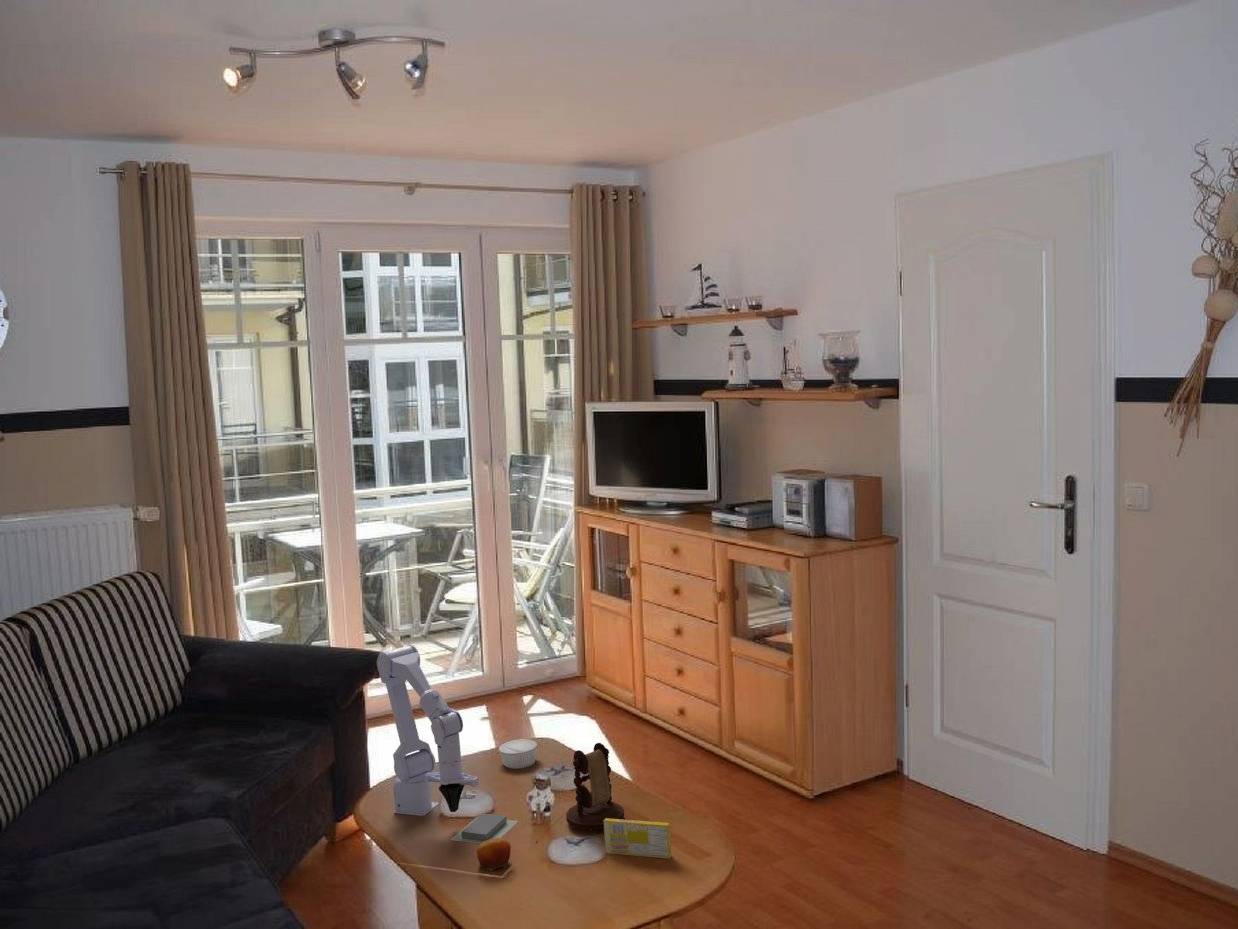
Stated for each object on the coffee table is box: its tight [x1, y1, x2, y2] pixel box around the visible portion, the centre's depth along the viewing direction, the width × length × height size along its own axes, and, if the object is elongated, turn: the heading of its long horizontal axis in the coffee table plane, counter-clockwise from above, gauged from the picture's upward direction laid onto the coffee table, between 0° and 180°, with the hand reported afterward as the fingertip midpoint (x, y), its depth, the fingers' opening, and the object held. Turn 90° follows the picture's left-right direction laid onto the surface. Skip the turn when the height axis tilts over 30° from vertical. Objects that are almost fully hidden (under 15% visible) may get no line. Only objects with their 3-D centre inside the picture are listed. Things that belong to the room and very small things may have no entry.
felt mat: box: [450, 816, 519, 845], centre depth 288 cm, size 12×14×1 cm
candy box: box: [603, 818, 673, 860], centre depth 270 cm, size 16×2×8 cm, turn 71°
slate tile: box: [460, 813, 508, 841], centre depth 288 cm, size 2×11×7 cm
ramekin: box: [498, 738, 538, 770], centre depth 333 cm, size 11×11×5 cm
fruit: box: [476, 837, 511, 873], centre depth 268 cm, size 8×8×8 cm
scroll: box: [565, 742, 625, 835], centre depth 288 cm, size 15×15×20 cm
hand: (454, 810), depth 291 cm, fingers closed
